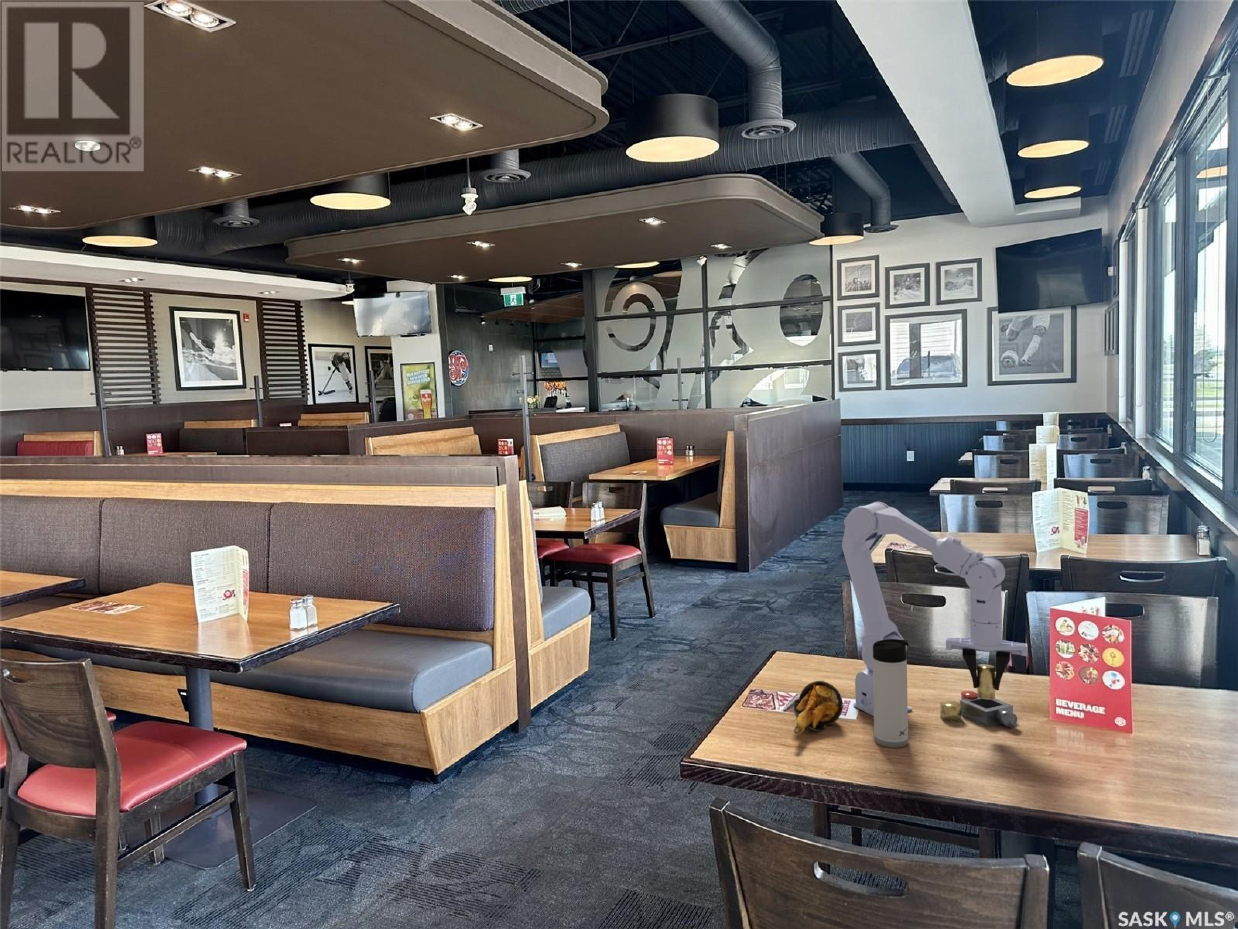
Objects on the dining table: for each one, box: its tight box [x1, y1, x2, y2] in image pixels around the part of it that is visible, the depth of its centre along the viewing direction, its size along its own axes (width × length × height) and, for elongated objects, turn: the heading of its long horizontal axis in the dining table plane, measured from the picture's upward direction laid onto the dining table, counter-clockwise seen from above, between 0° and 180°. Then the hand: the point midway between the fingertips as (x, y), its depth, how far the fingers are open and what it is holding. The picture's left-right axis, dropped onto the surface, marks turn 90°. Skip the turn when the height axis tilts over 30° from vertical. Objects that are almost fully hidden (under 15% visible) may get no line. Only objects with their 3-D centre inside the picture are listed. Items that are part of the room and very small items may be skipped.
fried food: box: [792, 680, 844, 736], centre depth 164 cm, size 9×11×18 cm
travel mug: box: [873, 639, 909, 749], centre depth 156 cm, size 6×7×20 cm
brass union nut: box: [939, 700, 962, 723], centre depth 167 cm, size 4×4×3 cm
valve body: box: [959, 690, 1018, 729], centre depth 166 cm, size 7×13×4 cm, turn 21°
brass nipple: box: [976, 663, 996, 700], centre depth 159 cm, size 3×3×6 cm
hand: (986, 687), depth 159 cm, fingers closed on brass nipple, 3 cm apart
